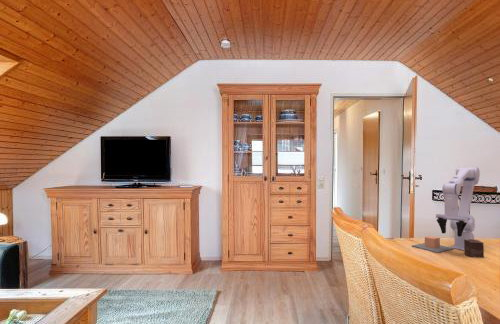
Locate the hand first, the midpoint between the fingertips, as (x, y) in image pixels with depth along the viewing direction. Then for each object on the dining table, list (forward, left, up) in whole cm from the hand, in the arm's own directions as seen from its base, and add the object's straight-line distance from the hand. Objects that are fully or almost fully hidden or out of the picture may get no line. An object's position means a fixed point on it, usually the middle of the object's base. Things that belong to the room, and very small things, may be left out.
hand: (451, 234), depth 157 cm
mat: (-2, -11, -9) cm, 15 cm away
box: (-6, +7, -10) cm, 13 cm away
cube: (-2, -11, -9) cm, 14 cm away
